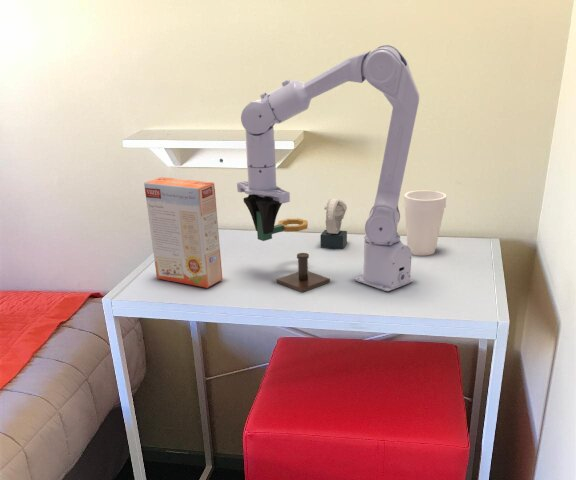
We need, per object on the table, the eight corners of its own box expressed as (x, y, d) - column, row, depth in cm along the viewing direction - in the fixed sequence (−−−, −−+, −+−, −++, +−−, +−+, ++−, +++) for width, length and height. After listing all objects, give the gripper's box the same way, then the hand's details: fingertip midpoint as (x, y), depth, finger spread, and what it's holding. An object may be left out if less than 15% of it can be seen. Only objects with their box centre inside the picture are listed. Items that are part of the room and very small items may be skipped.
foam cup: (442, 258, 151) (447, 200, 144) (400, 257, 152) (404, 200, 146) (440, 245, 159) (445, 190, 152) (401, 244, 160) (404, 189, 154)
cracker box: (224, 280, 143) (215, 181, 132) (207, 289, 138) (197, 188, 128) (173, 270, 149) (161, 175, 139) (155, 279, 145) (142, 181, 134)
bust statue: (348, 241, 164) (349, 196, 158) (341, 251, 157) (341, 204, 152) (326, 239, 165) (326, 195, 160) (318, 249, 159) (318, 203, 153)
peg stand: (330, 282, 140) (330, 254, 137) (302, 292, 135) (301, 264, 132) (304, 273, 145) (303, 246, 142) (276, 282, 141) (275, 254, 138)
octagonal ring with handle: (293, 224, 149) (293, 197, 146) (313, 230, 145) (313, 203, 142) (251, 237, 142) (249, 209, 139) (270, 243, 138) (269, 214, 135)
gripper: (223, 163, 136) (228, 228, 142) (269, 173, 126) (272, 243, 133) (250, 157, 140) (254, 221, 146) (296, 167, 130) (298, 235, 137)
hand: (264, 231), depth 140 cm, fingers closed on octagonal ring with handle
